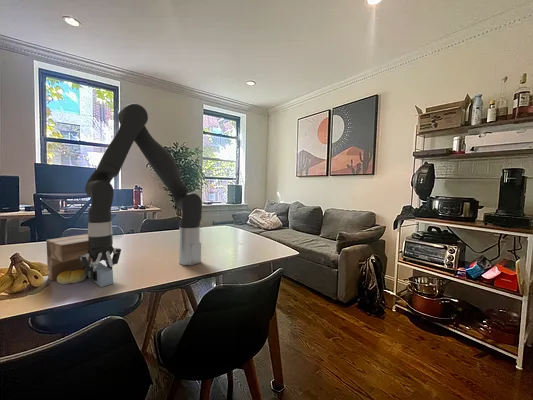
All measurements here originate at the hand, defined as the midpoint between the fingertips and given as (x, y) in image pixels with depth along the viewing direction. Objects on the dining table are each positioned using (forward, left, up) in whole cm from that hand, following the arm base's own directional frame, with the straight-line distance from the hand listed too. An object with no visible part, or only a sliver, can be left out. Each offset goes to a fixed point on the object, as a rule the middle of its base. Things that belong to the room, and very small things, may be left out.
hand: (102, 278), depth 94 cm
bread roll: (+11, +5, -2) cm, 12 cm away
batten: (+4, -1, -1) cm, 5 cm away
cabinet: (+13, +2, -1) cm, 14 cm away
